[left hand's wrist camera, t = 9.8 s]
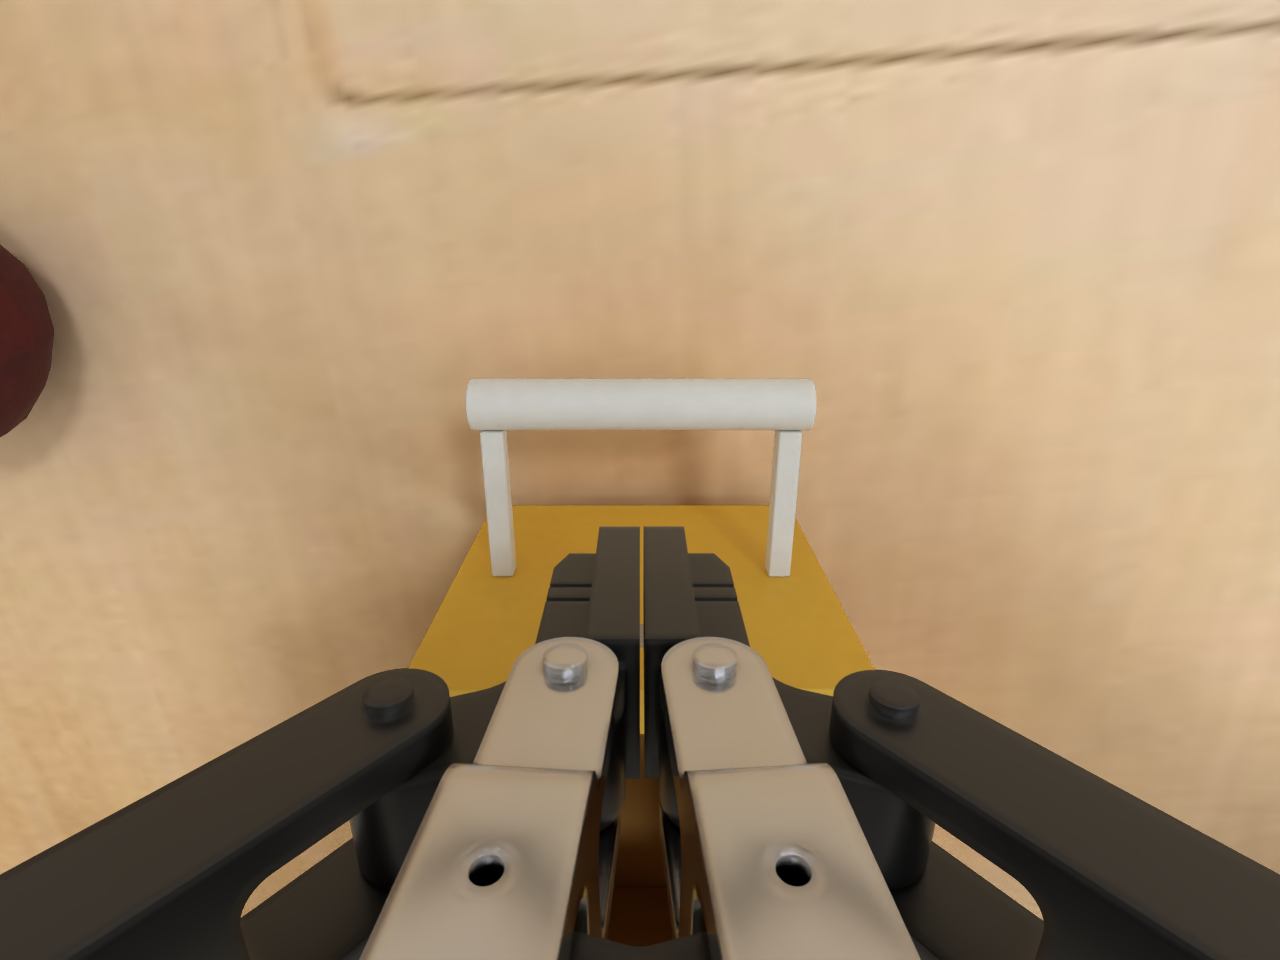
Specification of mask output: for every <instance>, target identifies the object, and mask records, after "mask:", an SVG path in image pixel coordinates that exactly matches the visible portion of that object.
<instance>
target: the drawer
mask: <svg viewBox="0 0 1280 960" xmlns="http://www.w3.org/2000/svg"><path fill="white" fill-rule="evenodd" d="M465 404H466V416H467V421H468V424H469V426H470V428H471V429H472V430H482V431H481V432H480V443H481V454H482V466H483V477H484V489H485V500H486V512H487V517H486V519H485V521H484V523H483V525H482V527H481V529H480V531H479V532H478V534H477V536H476V538H475V540H474V542H473V544H472V546H471V548H470V550H469V552H468V554H467V556H466V558H465V559H464V561H463V563H462V565H461V567H460V569H459V571H458V573H457V575H456V577H455V579H454V581H453V583H452V585H451V586H450V588H449V590H448V592H447V594H446V596H445V598H444V600H443V602H442V604H441V606H440V608H439V610H438V612H437V613H436V615H435V617H434V619H433V621H432V623H431V625H430V627H429V629H428V631H427V633H426V635H425V637H424V638H423V640H422V642H421V644H420V646H419V648H418V650H417V652H416V654H415V656H414V658H413V660H412V662H411V664H410V665H409V667H408V668H410V669H421V670H426V671H429V672H432V673H434V674H436V675H438V676H439V677H441V678H442V679H443V680H444V681H445V683H446V684H447V686H448V689H449V695H450V697H453V696H457V695H462V694H466V693H471V692H476V691H480V690H484V689H488V688H491V687H493V686H496V685H499V684H501V683H503V682H505V681H507V679H508V676H509V674H510V671H511V669H512V666H513V664H514V662H515V661H516V659H517V658H518V657H519V655H520V654H521V653H523V652H524V651H525V650H526V649H528V648H529V647H531V646H533V645H535V642H536V638H537V634H538V630H539V626H540V622H541V618H542V614H543V610H544V606H545V602H546V601H547V594H548V590H549V587H550V582H551V578H552V574H553V570H554V567H555V566H556V565H557V564H558V563H560V562H561V561H562V560H563V559H564V558H565V557H566V556H567V555H568V554H569V553H596V549H597V542H598V534H599V527H640V779H626V785H625V802H624V806H623V808H622V811H621V812H620V813H621V830H620V838H619V847H618V855H617V863H616V871H615V879H614V888H613V896H612V904H611V912H610V920H609V929H608V937H607V940H610V941H614V942H618V943H621V944H625V945H629V946H635V947H645V946H651V945H655V944H659V943H662V942H666V941H670V940H673V937H672V929H671V920H670V912H669V904H668V896H667V888H666V879H665V871H664V863H663V855H662V847H661V838H660V830H659V813H660V792H659V778H645V769H644V648H643V537H644V526H684V530H685V537H686V543H687V550H688V553H714V554H715V555H717V556H718V557H719V558H720V559H721V560H722V561H723V562H724V563H725V564H726V565H728V566H729V567H730V571H731V575H732V578H733V582H734V587H735V590H736V594H737V601H738V602H739V606H740V609H741V613H742V617H743V621H744V625H745V629H746V633H747V637H748V640H749V644H750V647H751V648H752V649H754V650H755V651H756V652H757V653H759V654H760V655H761V657H762V658H763V659H764V661H765V662H766V664H767V666H768V669H769V671H770V674H771V676H772V677H773V678H775V679H776V680H778V681H780V682H782V683H784V684H787V685H789V686H792V687H795V688H798V689H802V690H806V691H811V692H815V693H820V694H824V695H829V696H833V693H834V689H835V686H836V685H837V684H838V682H839V681H840V680H841V679H843V678H844V677H845V676H847V675H849V674H852V673H855V672H858V671H864V670H875V669H874V667H873V665H872V663H871V661H870V659H869V657H868V655H867V654H866V652H865V650H864V648H863V646H862V644H861V642H860V640H859V638H858V636H857V634H856V633H855V631H854V629H853V627H852V625H851V623H850V621H849V619H848V617H847V615H846V613H845V612H844V610H843V608H842V606H841V604H840V602H839V600H838V598H837V596H836V594H835V592H834V591H833V589H832V587H831V585H830V583H829V581H828V579H827V577H826V575H825V573H824V571H823V570H822V568H821V566H820V564H819V562H818V560H817V558H816V556H815V554H814V552H813V550H812V549H811V547H810V545H809V543H808V541H807V539H806V537H805V535H804V533H803V531H802V529H801V528H800V526H799V524H798V522H797V520H796V518H795V511H796V500H797V489H798V477H799V466H800V454H801V443H802V432H801V431H800V430H810V429H811V428H812V426H813V424H814V420H815V415H816V389H815V385H814V382H813V380H812V379H470V380H469V382H468V385H467V389H466V400H465ZM507 430H775V438H774V452H773V465H772V479H771V493H770V505H560V506H512V497H511V484H510V470H509V456H508V442H507Z"/></svg>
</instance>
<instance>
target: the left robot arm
mask: <svg viewBox="0 0 1280 960" xmlns="http://www.w3.org/2000/svg"><path fill="white" fill-rule="evenodd" d="M643 648H644V769H645V778H659V792H660V813H659V830H660V838H661V847H662V855H663V863H664V871H665V879H666V888H667V896H668V904H669V912H670V920H671V929H672V937H673V940H670V941H666V942H662V943H659V944H655V945H651V946H645V947H635V946H629V945H625V944H621V943H618V942H614V941H610V940H607V937H608V929H609V920H610V912H611V904H612V896H613V888H614V879H615V871H616V863H617V855H618V847H619V838H620V830H621V813H620V812H621V811H622V808H623V806H624V802H625V785H626V779H640V527H599V534H598V542H597V549H596V553H569V554H568V555H567V556H566V557H565V558H564V559H563V560H562V561H561V562H560V563H558V564H557V565H556V566H555V567H554V570H553V574H552V578H551V582H550V587H549V590H548V594H547V601H546V602H545V606H544V610H543V614H542V618H541V622H540V626H539V630H538V634H537V638H536V642H535V645H533V646H531V647H529V648H528V649H526V650H525V651H524V652H523V653H521V654H520V655H519V657H518V658H517V659H516V661H515V662H514V664H513V666H512V669H511V671H510V674H509V676H508V679H507V681H505V682H503V683H501V684H499V685H496V686H493V687H491V688H488V689H484V690H480V691H476V692H471V693H466V694H462V695H457V696H453V697H450V695H449V689H448V686H447V684H446V683H445V681H444V680H443V679H442V678H441V677H439V676H438V675H436V674H434V673H432V672H429V671H426V670H421V669H410V668H405V669H394V670H388V671H384V672H380V673H377V674H374V675H371V676H369V677H366V678H364V679H362V680H360V681H358V682H356V683H354V684H352V685H351V686H349V687H347V688H345V689H343V690H341V691H339V692H338V693H336V694H334V695H332V696H330V697H328V698H326V699H325V700H323V701H321V702H319V703H317V704H315V705H314V706H312V707H310V708H308V709H306V710H304V711H302V712H301V713H299V714H297V715H295V716H293V717H291V718H289V719H288V720H286V721H284V722H282V723H280V724H278V725H277V726H275V727H273V728H271V729H269V730H267V731H265V732H264V733H262V734H260V735H258V736H256V737H254V738H252V739H251V740H249V741H247V742H245V743H243V744H241V745H240V746H238V747H236V748H234V749H232V750H230V751H228V752H227V753H225V754H223V755H221V756H219V757H217V758H215V759H214V760H212V761H210V762H208V763H206V764H204V765H203V766H201V767H199V768H197V769H195V770H193V771H191V772H190V773H188V774H186V775H184V776H182V777H180V778H178V779H177V780H175V781H173V782H171V783H169V784H167V785H165V786H164V787H162V788H160V789H158V790H156V791H154V792H153V793H151V794H149V795H147V796H145V797H143V798H141V799H140V800H138V801H136V802H134V803H132V804H130V805H128V806H127V807H125V808H123V809H121V810H119V811H117V812H116V813H114V814H112V815H110V816H108V817H106V818H104V819H103V820H101V821H99V822H97V823H95V824H93V825H91V826H90V827H88V828H86V829H84V830H82V831H80V832H79V833H77V834H75V835H73V836H71V837H69V838H67V839H66V840H64V841H62V842H60V843H58V844H56V845H54V846H53V847H51V848H49V849H47V850H45V851H43V852H42V853H40V854H38V855H36V856H34V857H32V858H30V859H29V860H27V861H25V862H23V863H21V864H19V865H17V866H16V867H14V868H12V869H10V870H8V871H6V872H5V873H3V874H1V875H0V960H1280V875H1279V874H1277V873H1276V872H1274V871H1272V870H1270V869H1268V868H1266V867H1264V866H1263V865H1261V864H1259V863H1257V862H1255V861H1253V860H1251V859H1250V858H1248V857H1246V856H1244V855H1242V854H1240V853H1239V852H1237V851H1235V850H1233V849H1231V848H1229V847H1227V846H1226V845H1224V844H1222V843H1220V842H1218V841H1216V840H1214V839H1213V838H1211V837H1209V836H1207V835H1205V834H1203V833H1201V832H1200V831H1198V830H1196V829H1194V828H1192V827H1190V826H1189V825H1187V824H1185V823H1183V822H1181V821H1179V820H1177V819H1176V818H1174V817H1172V816H1170V815H1168V814H1166V813H1164V812H1163V811H1161V810H1159V809H1157V808H1155V807H1153V806H1152V805H1150V804H1148V803H1146V802H1144V801H1142V800H1140V799H1139V798H1137V797H1135V796H1133V795H1131V794H1129V793H1127V792H1126V791H1124V790H1122V789H1120V788H1118V787H1116V786H1115V785H1113V784H1111V783H1109V782H1107V781H1105V780H1103V779H1102V778H1100V777H1098V776H1096V775H1094V774H1092V773H1090V772H1089V771H1087V770H1085V769H1083V768H1081V767H1079V766H1078V765H1076V764H1074V763H1072V762H1070V761H1068V760H1066V759H1065V758H1063V757H1061V756H1059V755H1057V754H1055V753H1053V752H1052V751H1050V750H1048V749H1046V748H1044V747H1042V746H1041V745H1039V744H1037V743H1035V742H1033V741H1031V740H1029V739H1028V738H1026V737H1024V736H1022V735H1020V734H1018V733H1016V732H1015V731H1013V730H1011V729H1009V728H1007V727H1005V726H1003V725H1002V724H1000V723H998V722H996V721H994V720H992V719H991V718H989V717H987V716H985V715H983V714H981V713H979V712H978V711H976V710H974V709H972V708H970V707H968V706H966V705H965V704H963V703H961V702H959V701H957V700H955V699H954V698H952V697H950V696H948V695H946V694H944V693H942V692H941V691H939V690H937V689H935V688H933V687H931V686H929V685H928V684H926V683H924V682H922V681H920V680H918V679H916V678H913V677H910V676H907V675H904V674H901V673H897V672H892V671H886V670H864V671H858V672H855V673H852V674H849V675H847V676H845V677H844V678H843V679H841V680H840V681H839V682H838V684H837V685H836V686H835V689H834V693H833V696H829V695H824V694H820V693H815V692H811V691H806V690H802V689H798V688H795V687H792V686H789V685H787V684H784V683H782V682H780V681H778V680H776V679H775V678H773V677H772V676H771V674H770V671H769V669H768V666H767V664H766V662H765V661H764V659H763V658H762V657H761V655H760V654H759V653H757V652H756V651H755V650H754V649H752V648H751V647H750V644H749V640H748V637H747V633H746V629H745V625H744V621H743V617H742V613H741V609H740V606H739V602H738V601H737V594H736V590H735V587H734V582H733V578H732V575H731V571H730V567H729V566H728V565H726V564H725V563H724V562H723V561H722V560H721V559H720V558H719V557H718V556H717V555H715V554H714V553H688V550H687V543H686V537H685V530H684V526H644V537H643ZM348 820H350V825H351V830H352V835H353V838H352V839H350V840H349V841H347V842H346V843H345V844H343V845H342V846H341V847H339V848H338V849H336V850H335V851H334V852H332V853H331V854H329V855H328V856H327V857H325V858H324V859H322V860H321V861H320V862H318V863H317V864H315V865H314V866H313V867H311V868H310V869H309V870H307V871H306V872H304V873H303V874H302V875H300V876H299V877H297V878H296V879H295V880H293V881H292V882H290V883H289V884H288V885H286V886H285V887H283V888H282V889H281V890H279V891H278V892H277V893H275V894H274V895H272V896H271V897H270V898H268V899H267V900H265V901H264V902H263V903H261V904H260V905H258V906H257V907H256V908H254V909H253V910H252V911H250V912H249V913H247V914H246V915H245V916H243V917H241V913H242V910H243V908H244V905H245V903H246V902H247V900H248V898H249V897H250V895H251V894H252V892H253V891H254V890H255V889H256V888H257V886H258V885H259V884H260V883H261V882H262V881H263V880H265V879H266V878H267V877H268V876H269V875H271V874H272V873H274V872H275V871H276V870H278V869H279V868H281V867H282V866H284V865H285V864H286V863H288V862H289V861H291V860H292V859H294V858H295V857H297V856H298V855H299V854H301V853H302V852H304V851H305V850H307V849H308V848H309V847H311V846H312V845H314V844H315V843H317V842H318V841H320V840H321V839H322V838H324V837H325V836H327V835H328V834H330V833H331V832H332V831H334V830H335V829H337V828H338V827H340V826H341V825H343V824H344V823H345V822H347V821H348ZM935 823H936V824H937V825H939V826H940V827H942V828H943V829H945V830H946V831H948V832H949V833H950V834H952V835H953V836H955V837H956V838H958V839H959V840H960V841H962V842H963V843H965V844H966V845H968V846H969V847H971V848H972V849H973V850H975V851H976V852H978V853H979V854H981V855H982V856H984V857H985V858H986V859H988V860H989V861H991V862H992V863H994V864H995V865H996V866H998V867H999V868H1001V869H1002V870H1004V871H1005V872H1007V873H1008V874H1009V875H1011V876H1012V877H1014V878H1015V879H1016V880H1017V881H1019V882H1020V883H1021V884H1022V885H1023V886H1024V887H1025V888H1026V889H1027V890H1028V891H1029V893H1030V894H1031V895H1032V897H1033V898H1034V899H1035V901H1036V902H1037V904H1038V906H1039V908H1040V910H1041V913H1042V916H1043V919H1044V921H1043V920H1041V919H1040V918H1038V917H1037V916H1035V915H1034V914H1033V913H1031V912H1030V911H1029V910H1027V909H1026V908H1024V907H1023V906H1022V905H1020V904H1019V903H1017V902H1016V901H1015V900H1013V899H1012V898H1010V897H1009V896H1008V895H1006V894H1005V893H1003V892H1002V891H1001V890H999V889H998V888H997V887H995V886H994V885H992V884H991V883H990V882H988V881H987V880H985V879H984V878H983V877H981V876H980V875H978V874H977V873H976V872H974V871H973V870H971V869H970V868H969V867H967V866H966V865H965V864H963V863H962V862H960V861H959V860H958V859H956V858H955V857H953V856H952V855H951V854H949V853H948V852H946V851H945V850H944V849H942V848H941V847H939V846H938V845H937V844H935V843H934V842H933V841H932V837H933V832H934V827H935ZM240 917H241V918H240Z"/></svg>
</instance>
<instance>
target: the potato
mask: <svg viewBox="0 0 1280 960" xmlns="http://www.w3.org/2000/svg"><path fill="white" fill-rule="evenodd" d="M53 337H54V329H53V325H52V322H51V318H50V314H49V311H48V307H47V303H46V300H45V296H44V294H43V293H42V291H41V290H40V288H39V287H38V285H37V284H36V282H35V281H34V279H33V278H32V276H31V275H30V273H29V272H28V270H27V268H26V267H25V265H24V264H23V263H22V262H20V261H19V260H18V259H17V258H16V257H14V256H13V255H12V254H11V253H10V252H8V251H7V250H6V249H5V248H4V247H2V246H1V245H0V437H1V436H3V435H5V434H7V433H8V432H9V431H11V430H12V429H13V428H14V427H16V426H17V425H18V424H19V423H21V422H22V421H23V420H24V419H26V418H27V416H28V414H29V413H30V411H31V409H32V407H33V406H34V404H35V402H36V401H37V399H38V397H39V395H40V394H41V392H42V390H43V389H44V387H45V384H46V381H47V378H48V374H49V371H50V366H51V357H52V347H53Z"/></svg>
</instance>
